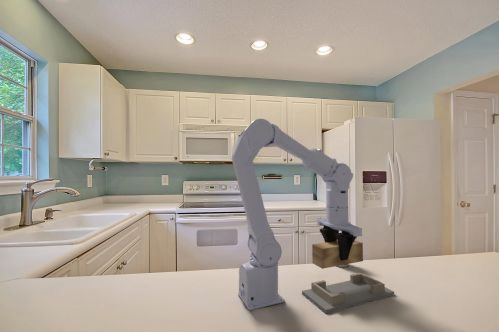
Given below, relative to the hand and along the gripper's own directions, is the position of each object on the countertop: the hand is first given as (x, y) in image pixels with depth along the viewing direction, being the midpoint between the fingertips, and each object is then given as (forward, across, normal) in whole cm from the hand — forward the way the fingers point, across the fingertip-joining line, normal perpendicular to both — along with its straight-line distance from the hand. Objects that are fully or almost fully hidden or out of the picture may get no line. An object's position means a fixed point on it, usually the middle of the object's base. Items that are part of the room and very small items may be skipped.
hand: (337, 256), depth 62 cm
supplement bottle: (+9, +13, -13) cm, 20 cm away
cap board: (+8, -3, 0) cm, 9 cm away
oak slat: (+1, 0, 0) cm, 1 cm away
